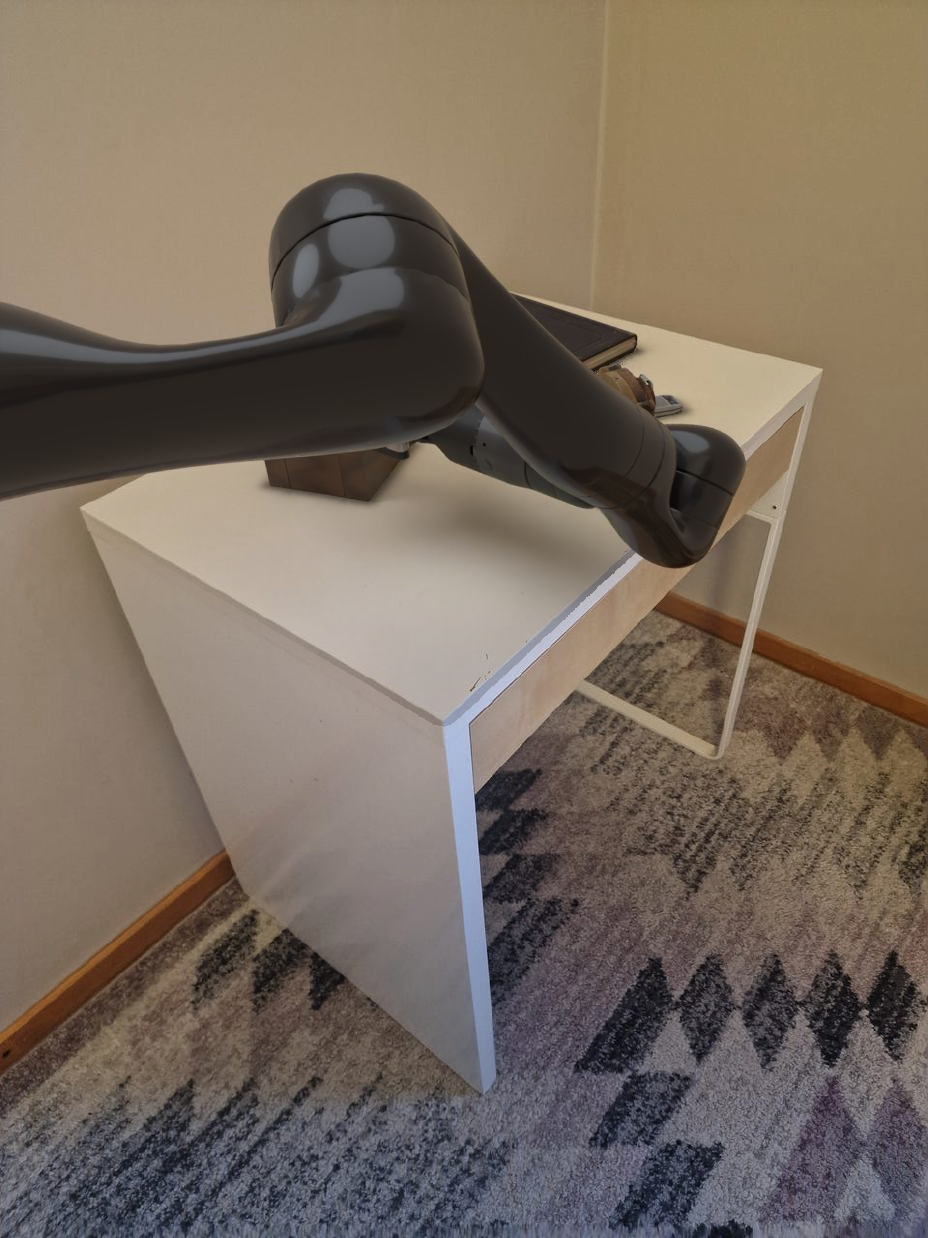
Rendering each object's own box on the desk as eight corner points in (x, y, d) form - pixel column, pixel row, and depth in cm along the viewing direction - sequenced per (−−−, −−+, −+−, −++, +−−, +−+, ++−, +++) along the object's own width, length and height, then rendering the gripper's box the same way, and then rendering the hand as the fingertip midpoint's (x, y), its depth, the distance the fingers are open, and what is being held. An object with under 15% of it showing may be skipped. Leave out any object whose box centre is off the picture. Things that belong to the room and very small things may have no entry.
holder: (269, 485, 88) (259, 442, 85) (319, 433, 96) (312, 391, 92) (368, 501, 85) (361, 456, 81) (411, 446, 92) (407, 403, 89)
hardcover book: (550, 393, 100) (551, 375, 98) (422, 341, 113) (421, 324, 112) (637, 349, 108) (638, 331, 106) (507, 305, 121) (507, 289, 120)
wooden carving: (688, 506, 81) (701, 410, 74) (643, 516, 80) (653, 419, 74) (616, 427, 93) (622, 339, 86) (577, 435, 92) (580, 346, 86)
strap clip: (670, 400, 97) (674, 364, 94) (683, 412, 95) (688, 375, 92) (601, 414, 96) (603, 378, 93) (613, 426, 93) (615, 390, 91)
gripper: (556, 361, 73) (417, 321, 82) (448, 428, 65) (306, 376, 74) (555, 439, 78) (424, 394, 87) (454, 510, 70) (321, 453, 79)
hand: (370, 386), depth 80 cm, fingers open, 8 cm apart
